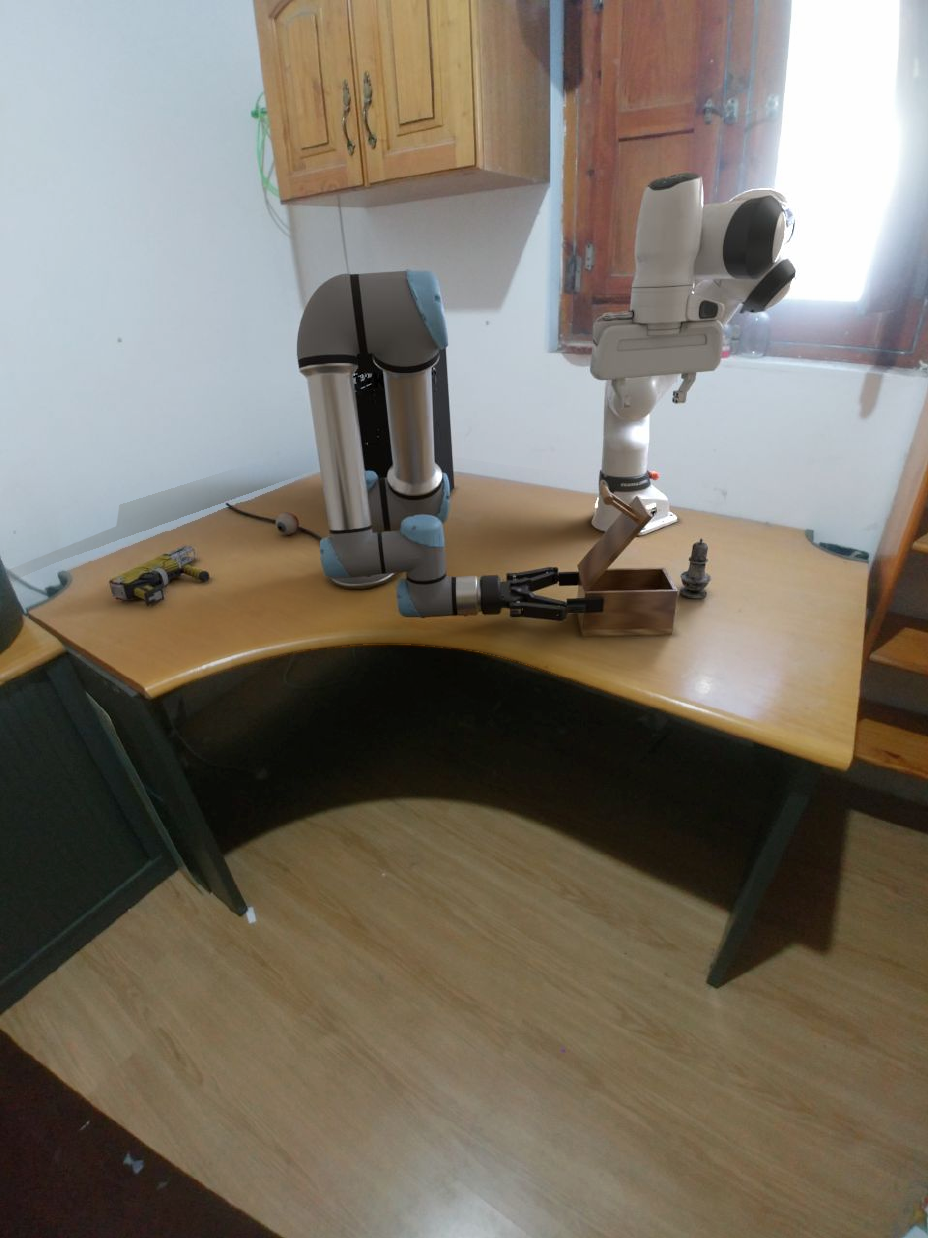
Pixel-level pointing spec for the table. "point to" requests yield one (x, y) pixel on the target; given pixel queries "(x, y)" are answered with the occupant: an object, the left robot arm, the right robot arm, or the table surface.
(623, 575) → the chest
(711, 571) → the table surface
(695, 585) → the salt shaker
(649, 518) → the lid
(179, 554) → the toy gun
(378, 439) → the black computer tower
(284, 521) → the eyeball
